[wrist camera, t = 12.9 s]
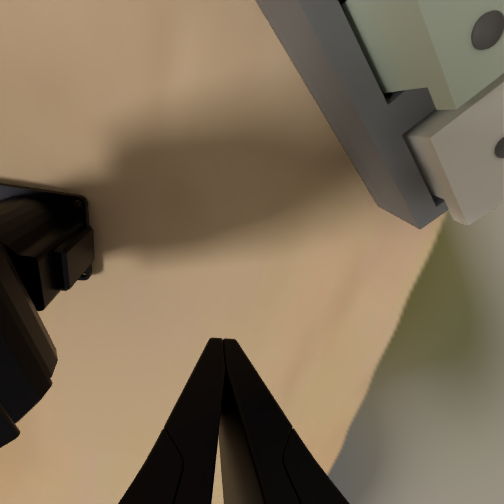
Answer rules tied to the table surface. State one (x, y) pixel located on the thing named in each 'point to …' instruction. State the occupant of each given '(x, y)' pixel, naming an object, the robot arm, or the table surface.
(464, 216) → the key one dot
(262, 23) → the table surface
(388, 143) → the key console
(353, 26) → the key two dots
